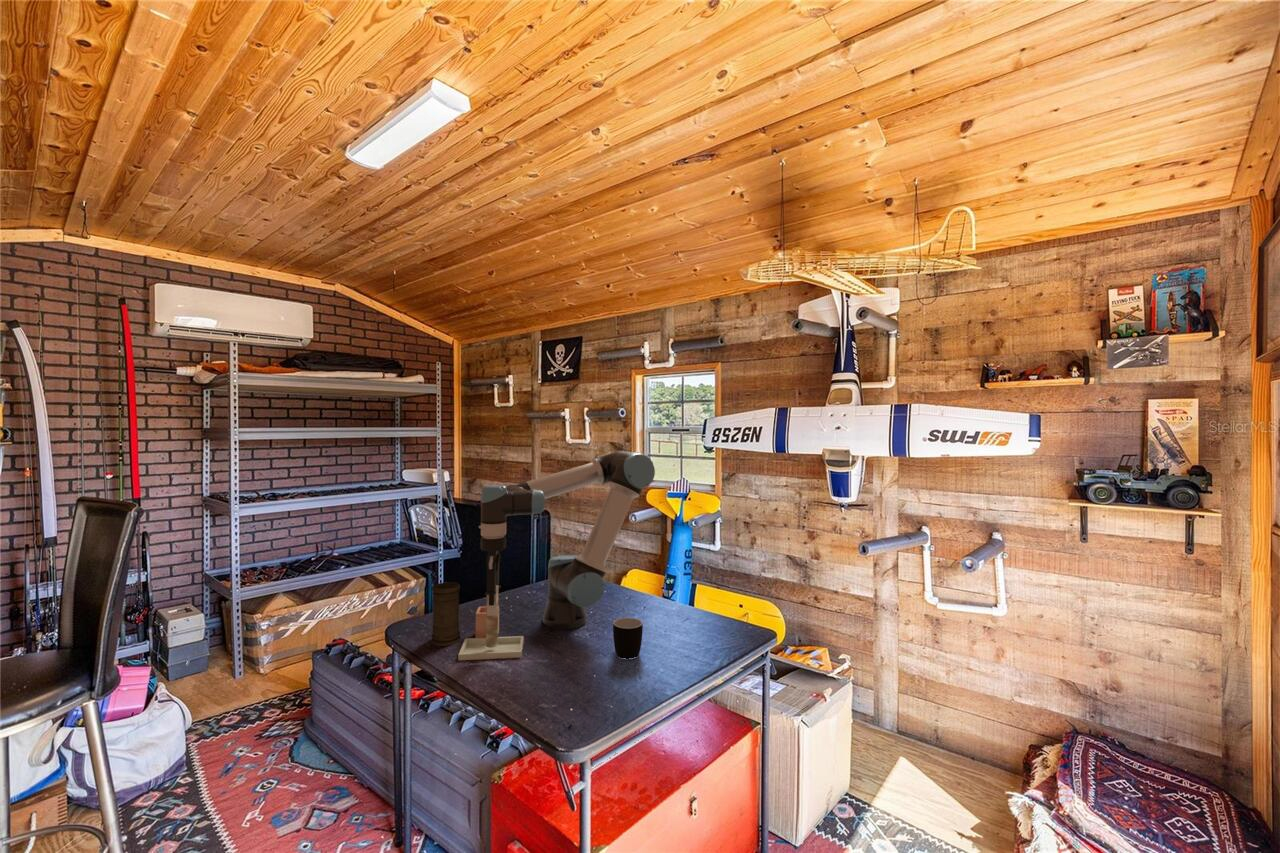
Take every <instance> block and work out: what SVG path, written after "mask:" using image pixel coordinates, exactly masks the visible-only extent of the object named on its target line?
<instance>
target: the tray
mask: <svg viewBox="0 0 1280 853" xmlns="http://www.w3.org/2000/svg"><path fill="white" fill-rule="evenodd" d="M524 640H525V637H524V635H519V636H517V635H515V636H498V645H497V646H496V647H492V648H489V647H486V638H476V637H474V638H473V637H471V638H470V637H469V638H464V641H463V644H462V645H461V647H460V650H459V652H458V658H457V659H458V661H472V660H473V661H474V660H475V661H476V660H492V659H513V658H516V659H517V658H522V653H523V649H524V643H525V642H524Z"/></svg>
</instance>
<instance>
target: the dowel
mask: <svg viewBox="0 0 1280 853" xmlns="http://www.w3.org/2000/svg"><path fill="white" fill-rule="evenodd" d="M498 586H499V585H496V593H497V612H496V616H487V614H486V647H489V648H492V647H496V646H497V645H498V637H499V633H498V606H499V588H498Z"/></svg>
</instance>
